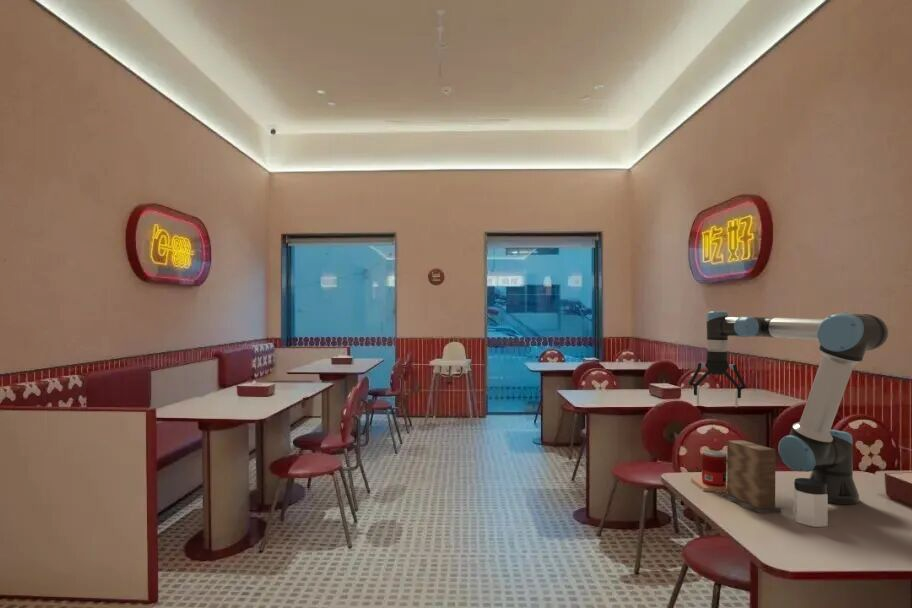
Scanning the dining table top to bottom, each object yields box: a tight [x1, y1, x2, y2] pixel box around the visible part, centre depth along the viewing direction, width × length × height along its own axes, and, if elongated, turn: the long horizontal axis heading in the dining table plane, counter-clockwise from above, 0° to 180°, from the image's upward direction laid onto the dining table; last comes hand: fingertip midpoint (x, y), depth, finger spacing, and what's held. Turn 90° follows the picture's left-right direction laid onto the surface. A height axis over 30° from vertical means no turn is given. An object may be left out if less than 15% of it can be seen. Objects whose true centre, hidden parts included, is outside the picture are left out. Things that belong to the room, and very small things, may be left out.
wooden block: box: [722, 439, 781, 514], centre depth 182 cm, size 16×8×19 cm, turn 15°
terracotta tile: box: [690, 477, 727, 493], centre depth 200 cm, size 12×12×1 cm
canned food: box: [701, 449, 727, 486], centre depth 200 cm, size 8×8×11 cm
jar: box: [793, 477, 829, 528], centre depth 166 cm, size 9×8×12 cm
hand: (716, 405), depth 218 cm, fingers open, 13 cm apart
